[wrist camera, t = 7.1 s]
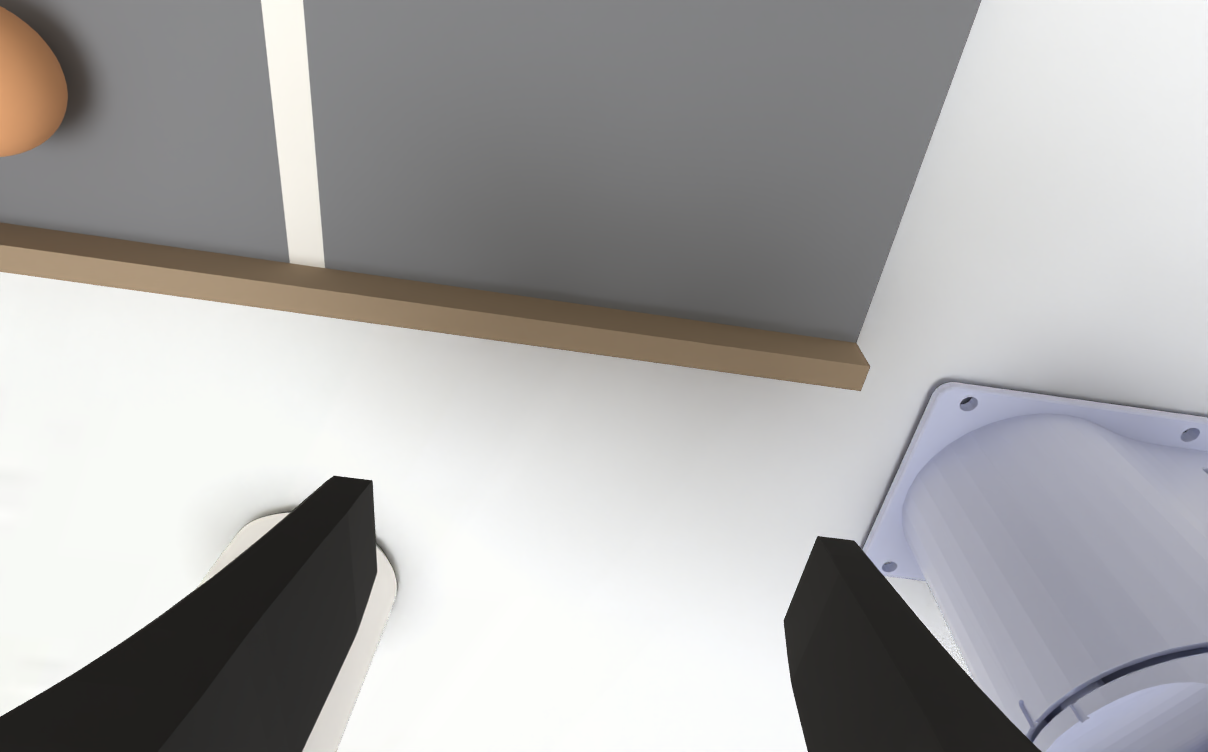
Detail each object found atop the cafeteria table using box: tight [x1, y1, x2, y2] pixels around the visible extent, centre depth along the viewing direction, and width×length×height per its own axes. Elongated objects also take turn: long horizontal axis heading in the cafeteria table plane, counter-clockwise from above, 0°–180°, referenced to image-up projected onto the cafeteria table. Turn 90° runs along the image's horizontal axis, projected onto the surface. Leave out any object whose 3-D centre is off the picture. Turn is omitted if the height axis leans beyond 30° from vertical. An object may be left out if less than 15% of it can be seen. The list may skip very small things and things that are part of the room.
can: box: [196, 512, 397, 752], centre depth 21 cm, size 6×6×12 cm
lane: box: [0, 0, 981, 391], centre depth 16 cm, size 27×12×2 cm, turn 82°
